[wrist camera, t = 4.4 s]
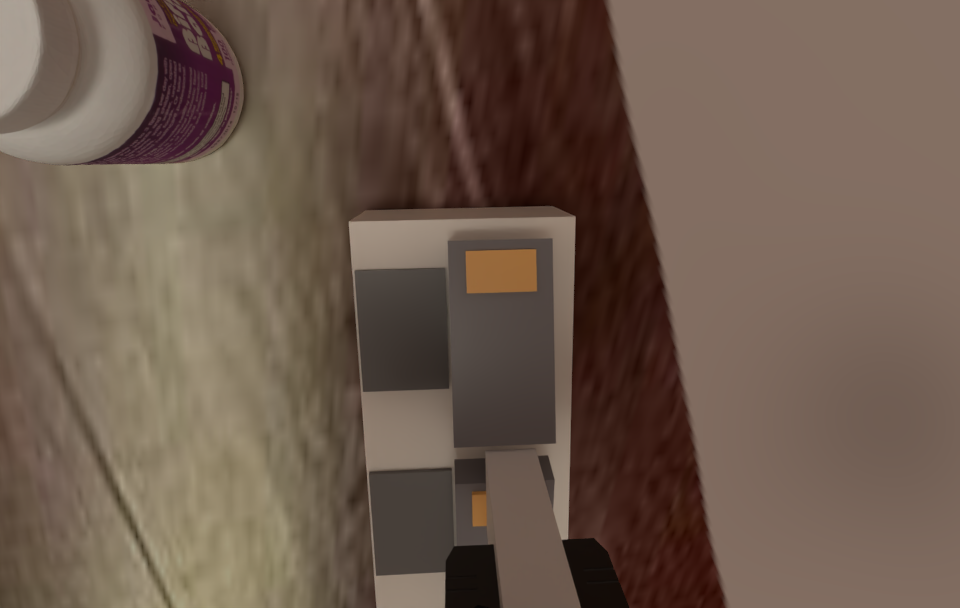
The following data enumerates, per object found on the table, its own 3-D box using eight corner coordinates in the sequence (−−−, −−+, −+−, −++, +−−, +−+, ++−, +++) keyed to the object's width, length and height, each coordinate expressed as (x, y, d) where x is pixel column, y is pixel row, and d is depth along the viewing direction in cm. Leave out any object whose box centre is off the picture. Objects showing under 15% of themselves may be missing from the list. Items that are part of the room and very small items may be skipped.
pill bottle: (270, 45, 20) (118, -52, 11) (219, 187, 21) (40, 212, 12) (114, -31, 19) (-198, -207, 10) (69, 121, 20) (-252, 91, 11)
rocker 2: (458, 598, 21) (459, 632, 19) (454, 459, 18) (455, 487, 17) (542, 593, 21) (548, 627, 20) (548, 455, 19) (555, 483, 17)
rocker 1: (453, 435, 18) (454, 449, 17) (447, 242, 18) (447, 241, 16) (549, 431, 18) (556, 444, 17) (545, 239, 18) (553, 238, 16)
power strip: (395, 669, 27) (385, 774, 22) (366, 210, 22) (344, 224, 17) (546, 660, 27) (566, 762, 23) (552, 206, 22) (580, 218, 17)
